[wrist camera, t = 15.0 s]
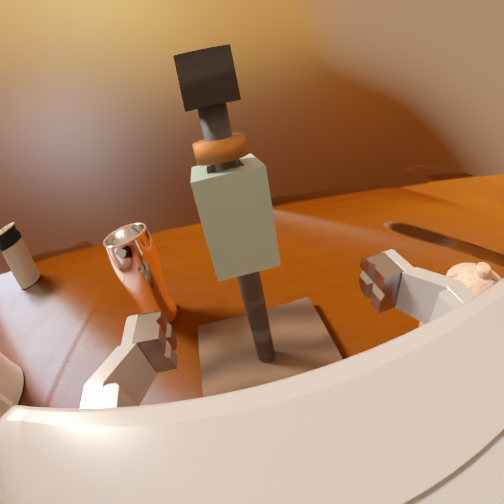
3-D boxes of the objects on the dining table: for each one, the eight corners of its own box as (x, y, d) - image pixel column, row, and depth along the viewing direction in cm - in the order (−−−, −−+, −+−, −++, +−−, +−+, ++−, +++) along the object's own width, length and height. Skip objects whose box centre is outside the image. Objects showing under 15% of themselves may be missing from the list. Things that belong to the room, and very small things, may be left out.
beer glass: (173, 295, 46) (143, 217, 39) (186, 318, 41) (151, 232, 33) (138, 311, 44) (101, 235, 36) (146, 337, 38) (101, 253, 31)
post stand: (356, 394, 25) (367, 18, 9) (211, 435, 24) (38, 82, 8) (309, 304, 39) (279, 58, 23) (200, 332, 38) (121, 92, 21)
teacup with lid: (464, 308, 31) (486, 239, 25) (493, 353, 23) (530, 282, 17) (397, 328, 32) (413, 254, 26) (422, 384, 24) (457, 312, 18)
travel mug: (34, 287, 58) (5, 230, 49) (18, 292, 58) (-10, 239, 48) (44, 271, 65) (19, 218, 56) (28, 276, 64) (3, 226, 55)
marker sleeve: (280, 265, 22) (265, 165, 18) (218, 281, 21) (190, 182, 17) (265, 237, 26) (251, 153, 22) (213, 250, 26) (191, 167, 22)
